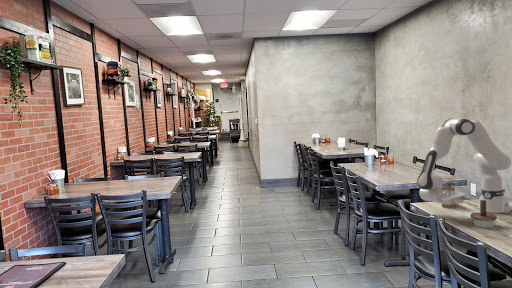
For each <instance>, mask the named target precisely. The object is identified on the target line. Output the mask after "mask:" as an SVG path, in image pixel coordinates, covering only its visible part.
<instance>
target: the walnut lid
mask: <svg viewBox="0 0 512 288" xmlns="http://www.w3.org/2000/svg"><path fill="white" fill-rule="evenodd" d="M479 201H480V209H479V211H480V212H473V213H470V218H471V219H473V220H474V219H476V220H482V221H493V220H494V221H496V220H497V219H498V218H497V215H496V214H495V213H490V212H486V200H480V199H479Z"/></svg>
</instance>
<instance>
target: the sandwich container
mask: <svg viewBox="0 0 512 288" xmlns="http://www.w3.org/2000/svg"><path fill="white" fill-rule="evenodd" d="M442 190H447V191H448V190H453V191H454V192H456V188H455V186H442ZM441 208H451V209H452V208H453V209H455V208H456V203H454V204H451V205H447V204H441Z"/></svg>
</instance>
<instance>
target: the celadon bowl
mask: <svg viewBox="0 0 512 288" xmlns="http://www.w3.org/2000/svg"><path fill="white" fill-rule="evenodd" d="M473 226H475V227H477V228H484V229H489V228H490V229H491V228H494V227H495V220H493V221H482V220H476V219H473Z"/></svg>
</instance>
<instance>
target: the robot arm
mask: <svg viewBox="0 0 512 288" xmlns="http://www.w3.org/2000/svg"><path fill="white" fill-rule="evenodd" d="M455 136H466V137H467V138H468V139H467V140H469V142H470V144H471V147H472V148H473V149H474V151H476V152H477V153H476V152H475V154H474V156H473V163H474V164H475V166H477V168H478V170H479V171H478V172H479V173H480V176H481V191H480V192H481V195H480V196H479V204H478V206H477V209H479V210H480V200H486V213H490V214H503V213H504V214H508V213H510V212H511V211H512V205H510V200H509V199H508V198H507V197H506V195H505V192H506V189H505V188H503V179H502V178H503V177H502V176H501V175H500V174H499V173H498V171H504V170H505V171H506V170H507V169H509V168H510V167H511V165H512V161H511V157H510V156H509V155H506V154H505V153H504V152H502V151H501V149H500V148H498V146H496V144H495V143H494V142H493V141H492V138H491V137H490V135H489V134H488V132H487V130H486V129H485V127H484V125H482V123H481V122H480V121H479V120H476V119H472V120H470V119H468V118H463V117H452V118H448V119H446V120H445V121H444V122H443V124H442V125H441V126H439V127H438V128H436V130H435V132H434V134H433V138H432V142H431V147H430V149H429V151H428V153H427V155H426V157H425V160H424V162H423V163H424V164H423V166H422V170H421V172H420V173H419V175H418V176H417V179H416V183H417V186H418V187H419V191H418V193H419V197H420V198H421V199H422V200H424V201H426V202H431V203H436V204H441V205H442V204H447V205H451V204H454V203H455V204H462V205H463V203H464V201H467V202H468V201H469V202H470V201H472V197H469V196H468V194H467V193H465V192H460V191H455V192H454V191H453V190H448V191H447V190H442V187H444V185H443V184H444V180H443V178H442V177H441V175H438V174H433V172H434V168H435V166H436V163H438V161H439V160H440V159H443V158H445V157H447V155H449V153H450V151H451V147H452V141H453V138H454V137H455Z"/></svg>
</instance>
